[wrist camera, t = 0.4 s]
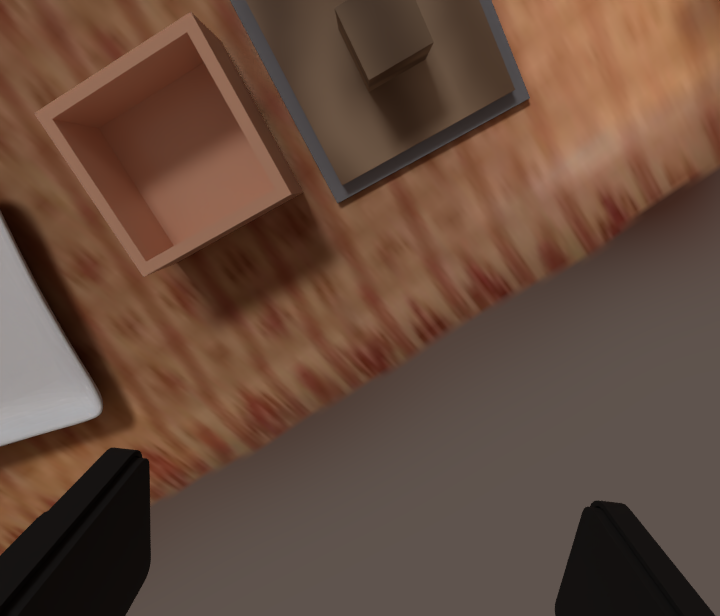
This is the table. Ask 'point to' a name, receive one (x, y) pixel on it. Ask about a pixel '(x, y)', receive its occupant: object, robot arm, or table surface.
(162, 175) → the terracotta box
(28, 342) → the salad plate
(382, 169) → the rubber mat
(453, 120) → the walnut lid
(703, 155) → the table surface
